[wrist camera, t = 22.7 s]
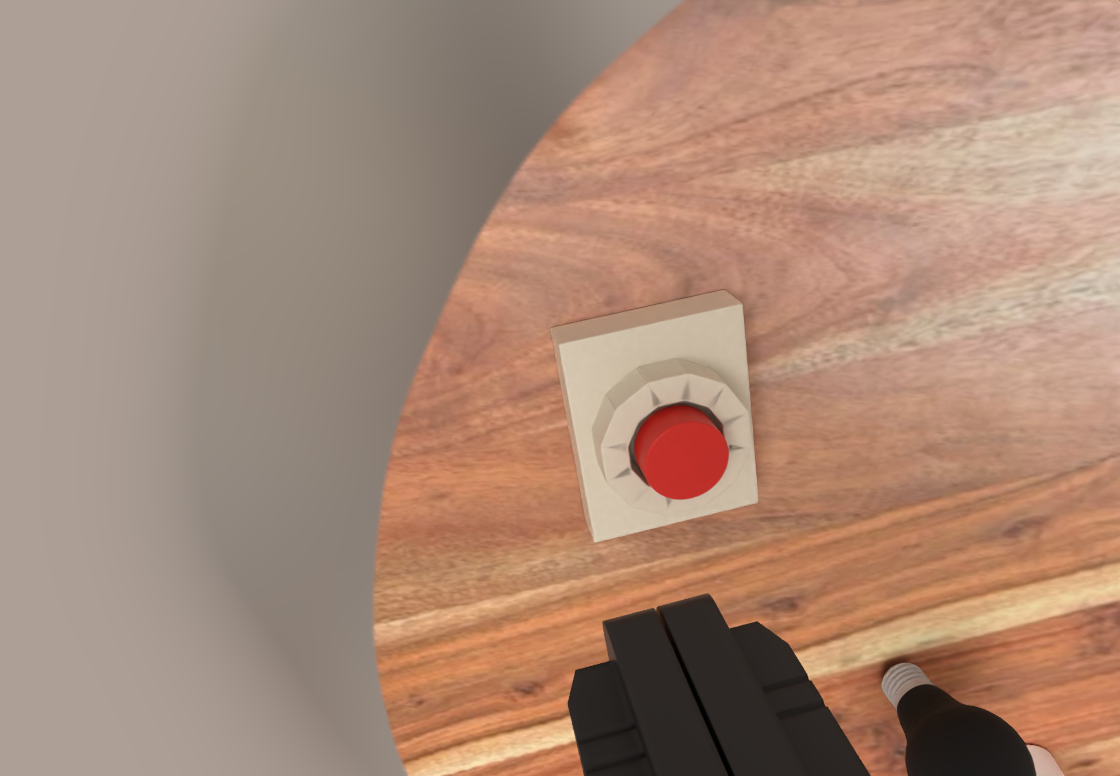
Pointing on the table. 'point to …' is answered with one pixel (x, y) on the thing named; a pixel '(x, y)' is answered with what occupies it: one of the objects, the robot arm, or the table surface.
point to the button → (681, 452)
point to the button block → (654, 405)
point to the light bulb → (951, 731)
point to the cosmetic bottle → (1044, 762)
